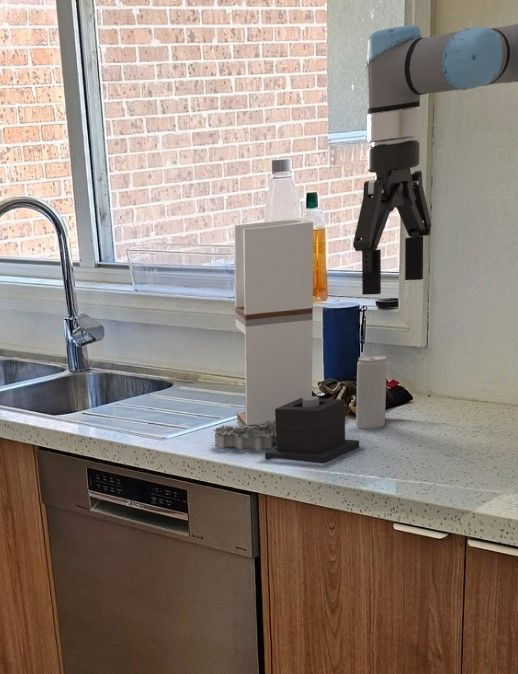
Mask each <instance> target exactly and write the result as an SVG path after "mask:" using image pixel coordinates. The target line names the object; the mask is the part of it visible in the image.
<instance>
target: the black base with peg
mask: <svg viewBox="0 0 518 674" xmlns="http://www.w3.org/2000/svg"><path fill="white" fill-rule="evenodd" d="M319 399H320V396H316V395H312V396H310V397H305V398H303V399H302V403H303V407H312V408H315V407H317V406H319ZM359 448H360V440H359V439H358V440H357V439H345V442H344V443H342V444H340V445H338V446H336V447H333V448H331V449H329V450H327V451H325V452H323V453H321V454H312V453H299V452H285V451H277V447H275V448H273V449H269V450H268V451H266V452H264V459H265V460H271V459H279V460H287V461H296V462H307V463H317V464H326V463H328V462H330V461H332V460H335V459H337V458H339V457H341V456H344V455H346V454H348V453H351V452H352V451H355V450H357V449H359Z"/></svg>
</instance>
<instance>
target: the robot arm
mask: <svg viewBox="0 0 518 674" xmlns="http://www.w3.org/2000/svg"><path fill="white" fill-rule="evenodd" d="M421 33H422V32H421V28H420V26H419V25H417V24H410V25H403V26H402V25H401V26H396V27H392V28H384V29H379V30H375V31H374V32H372V33H371V34H370V36H369V37H368V40H367V53H366V54H367V55H366V62H365V68H366V85H367V87H366V88H367V122H366V125H365V126H366V128H367V142H368V143H371V146H369V147H368V148H367V171H368V172H369V173H375V179H374V180H365V181H364V183H363V192H362V194H363V195H362V201H361V206H360V209H359V215H358V220H357V224H356V229H355V233H354V237H353V241H352V247H353V249H354V250H355V252H361V280H362V281H361V283H362V284H361V287H362V295H363V296H364V295H365V296H367V295H371V296H372V295H380V294H382V271H381V270H382V249H380V248H379V244H380V241H381V239H382V236H383V233H384V230H385V227H386V225H387V223H388V219H389V217H390V214H391V212H393V211H394V210H395V208H396V210H397V212H398V214H399V217H400V219H401V221H402V224H403V225H404V226H403V227H404V229H405V230H406V232H407V233H406V234H407V235H408V237H405V238H404V241H405V242H404V281H421V280H424V237H427V236H430V235H431V230H432V221H431V218H430V211H429V208H428V203H427V199H426V194H425V191H424V186H423V173H422V170H413V171H411V169H413V168H416V167H418V166H419V165H420V149H421V148H420V146H421V145H420V144H421V143H420V142H419V140H417V137H419V136H420V135H421V107H420V106H421V96H424V95H427V94H435V93H445V92H453V91H459V90H460V91H466V90H471V89H476V88H478V87H485V86H486V87H487V86H490V85H499V84H511V83H518V23H513V24H510V25H505V26H504V25H503V26H498V27H487V26H486V27H485V26H483V27H471V28H464V29H461V30H457V31H452V32H447V33H442V34H438V35H433V36H429V37H422V34H421ZM378 248H379V249H378Z"/></svg>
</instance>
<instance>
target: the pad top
mask: <svg viewBox="0 0 518 674" xmlns="http://www.w3.org/2000/svg"><path fill="white" fill-rule="evenodd" d="M302 399H303V398H300V399H298V400H295V401H293V402H290V403H288V404H286V405H283V406H281V407H279V408H276V409H275V418H276V430H286V431H302V432H321V431H323V430H325V429H328V428H330V427H332V426H334V425H336V424H339V423H341V422H343V421H345V422H346V410H345V408H346V407H345V405H346V404H345V403H346V401H345V399H343V398H342V399H341V398H340V399H339V398H319V406H317V407H315V408H312V407H303V403H302Z"/></svg>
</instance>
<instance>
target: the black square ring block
mask: <svg viewBox="0 0 518 674" xmlns="http://www.w3.org/2000/svg"><path fill="white" fill-rule="evenodd" d="M345 440H346V420H345V421H343V422H341V423H339V424H336V425H334V426H332V427H330V428H328V429H325V430H323V431H321V432H302V431H286V430H276V448H277V451H285V452H299V453H312V454H321V453H323V452H325V451H327V450H329V449H331V448H333V447H336V446H338V445H340V444H342V443H344V442H345Z"/></svg>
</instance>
